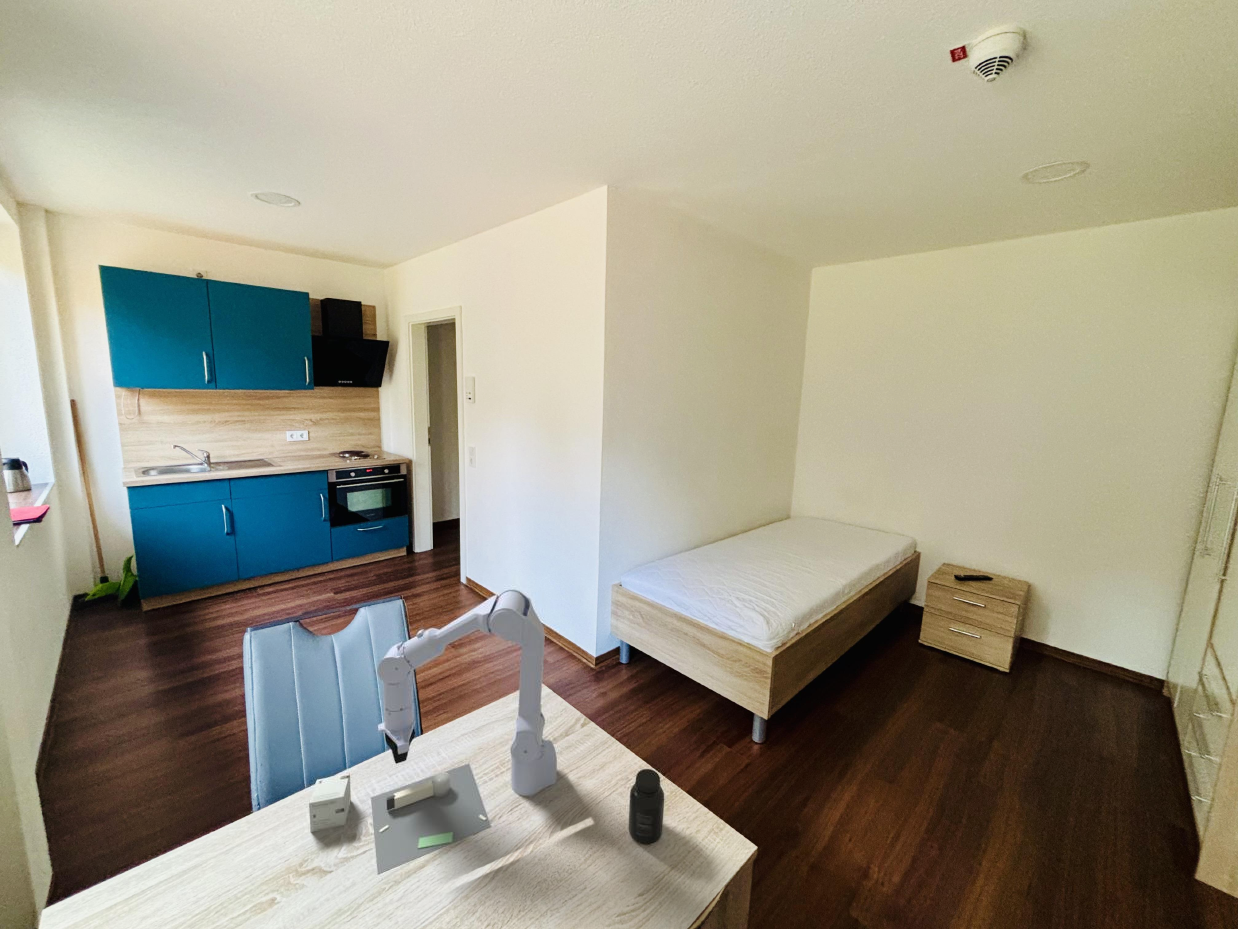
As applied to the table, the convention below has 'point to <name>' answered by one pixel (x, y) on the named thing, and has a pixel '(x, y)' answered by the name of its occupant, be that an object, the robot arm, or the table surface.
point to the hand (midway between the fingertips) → (400, 760)
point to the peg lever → (421, 791)
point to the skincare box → (330, 802)
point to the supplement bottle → (646, 808)
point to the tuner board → (427, 820)
